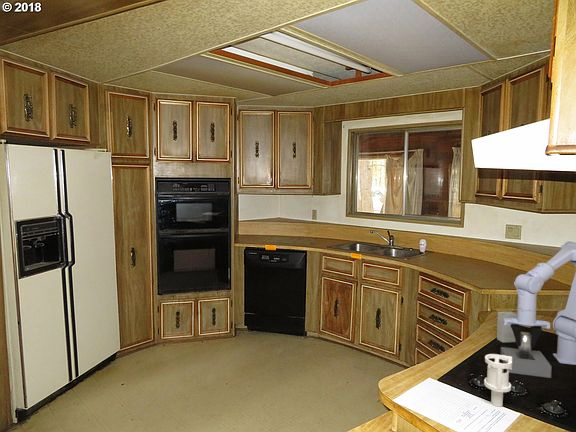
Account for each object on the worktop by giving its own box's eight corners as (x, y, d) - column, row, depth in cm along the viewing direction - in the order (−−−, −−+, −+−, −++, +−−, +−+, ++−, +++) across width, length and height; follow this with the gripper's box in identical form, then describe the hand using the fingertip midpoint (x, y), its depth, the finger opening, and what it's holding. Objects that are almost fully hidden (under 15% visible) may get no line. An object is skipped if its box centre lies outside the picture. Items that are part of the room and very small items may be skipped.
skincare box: (509, 338, 168) (510, 310, 168) (516, 342, 164) (517, 314, 163) (496, 339, 168) (497, 311, 167) (502, 343, 163) (503, 314, 163)
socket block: (539, 361, 146) (540, 351, 146) (550, 377, 134) (551, 366, 133) (500, 357, 150) (500, 346, 150) (507, 372, 138) (508, 361, 137)
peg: (528, 351, 143) (529, 332, 143) (532, 355, 139) (533, 336, 139) (516, 350, 144) (517, 331, 144) (520, 354, 140) (520, 335, 140)
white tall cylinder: (512, 412, 113) (514, 362, 112) (484, 407, 116) (486, 358, 115) (508, 400, 120) (510, 352, 119) (482, 395, 122) (484, 348, 121)
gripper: (545, 306, 142) (544, 343, 143) (501, 303, 146) (499, 339, 147) (553, 312, 136) (551, 351, 137) (506, 309, 139) (504, 347, 140)
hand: (525, 345), depth 141 cm, fingers closed on peg, 4 cm apart
